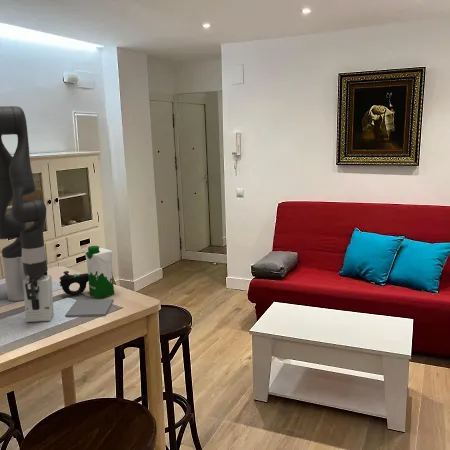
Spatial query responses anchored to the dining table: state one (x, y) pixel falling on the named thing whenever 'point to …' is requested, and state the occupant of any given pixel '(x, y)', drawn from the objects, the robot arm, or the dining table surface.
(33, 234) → the robot arm
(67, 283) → the controller
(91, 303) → the mat
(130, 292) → the dining table surface
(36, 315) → the skincare box
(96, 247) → the milk carton
